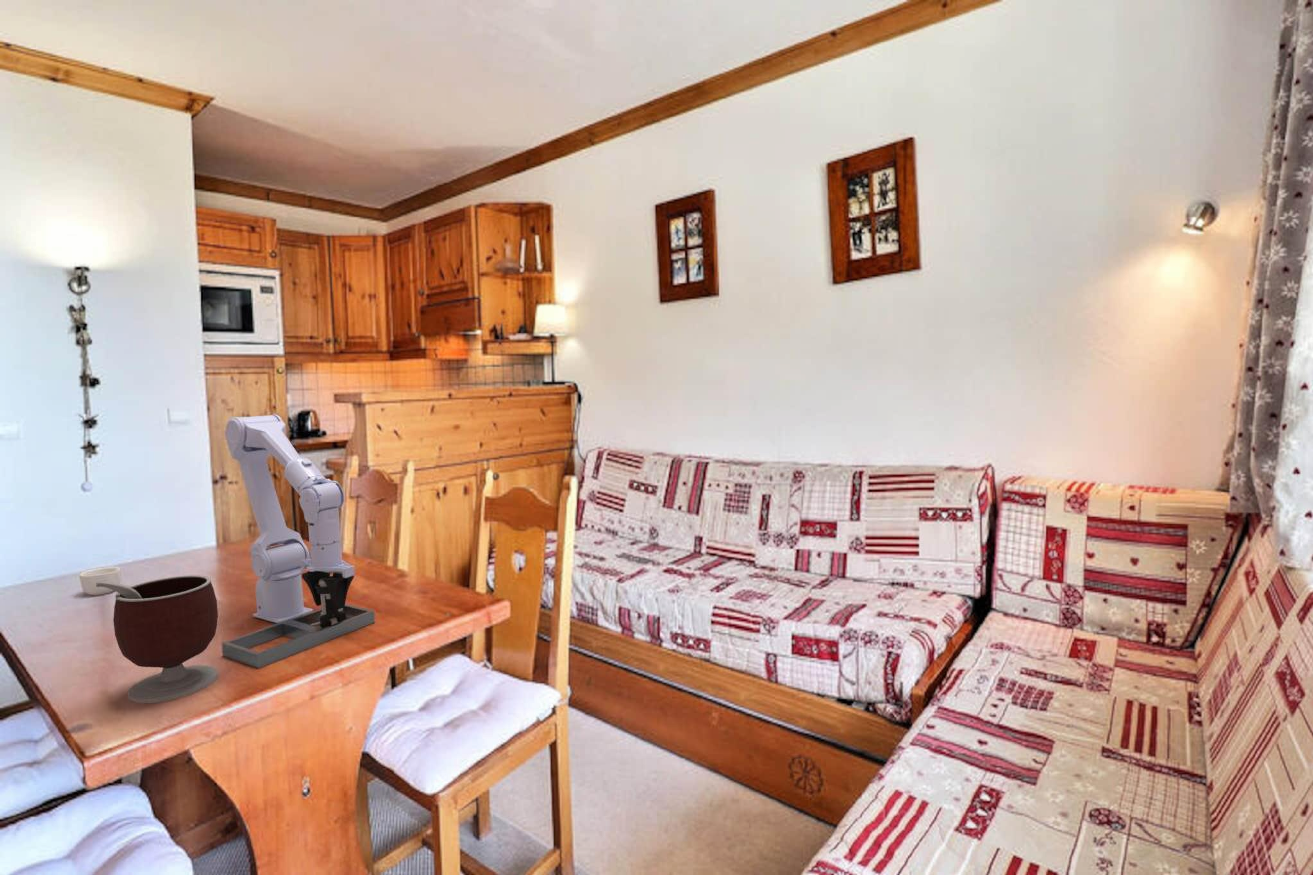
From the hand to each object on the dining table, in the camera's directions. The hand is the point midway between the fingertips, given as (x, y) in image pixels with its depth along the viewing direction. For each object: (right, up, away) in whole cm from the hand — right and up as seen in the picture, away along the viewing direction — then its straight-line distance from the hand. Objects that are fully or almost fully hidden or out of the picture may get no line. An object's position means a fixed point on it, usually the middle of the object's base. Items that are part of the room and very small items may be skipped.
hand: (330, 606), depth 134 cm
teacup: (-71, -4, +28) cm, 76 cm away
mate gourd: (-15, -7, -24) cm, 29 cm away
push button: (0, -4, 0) cm, 4 cm away
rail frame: (-3, -5, -5) cm, 8 cm away
